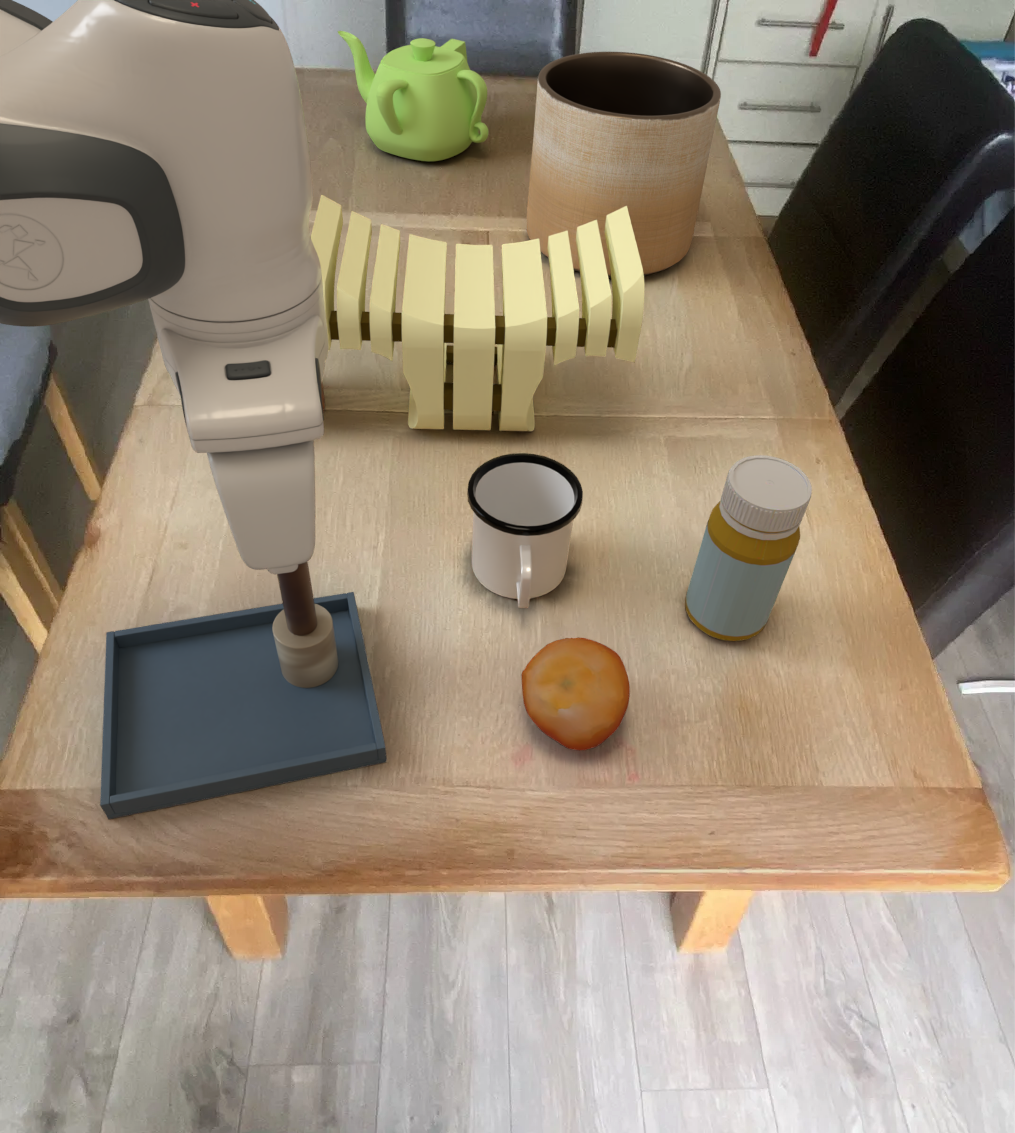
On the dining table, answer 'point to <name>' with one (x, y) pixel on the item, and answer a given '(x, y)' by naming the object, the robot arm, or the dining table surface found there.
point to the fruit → (576, 692)
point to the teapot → (421, 99)
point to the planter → (621, 150)
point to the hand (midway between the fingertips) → (275, 513)
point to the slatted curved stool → (480, 313)
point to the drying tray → (228, 710)
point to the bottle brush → (303, 633)
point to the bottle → (747, 547)
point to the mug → (522, 524)
